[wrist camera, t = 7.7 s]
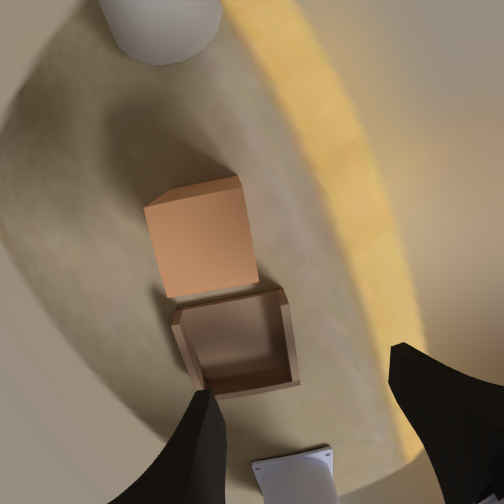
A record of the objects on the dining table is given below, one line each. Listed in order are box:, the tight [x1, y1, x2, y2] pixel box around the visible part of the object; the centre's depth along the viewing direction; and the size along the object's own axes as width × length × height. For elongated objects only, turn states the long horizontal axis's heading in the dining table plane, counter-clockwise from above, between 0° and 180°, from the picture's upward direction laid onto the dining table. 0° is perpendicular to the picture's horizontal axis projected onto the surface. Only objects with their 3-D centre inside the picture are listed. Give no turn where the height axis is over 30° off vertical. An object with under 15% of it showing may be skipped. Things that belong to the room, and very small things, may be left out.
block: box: [144, 176, 259, 298], centre depth 16 cm, size 4×4×6 cm
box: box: [171, 288, 301, 400], centre depth 20 cm, size 6×7×2 cm
